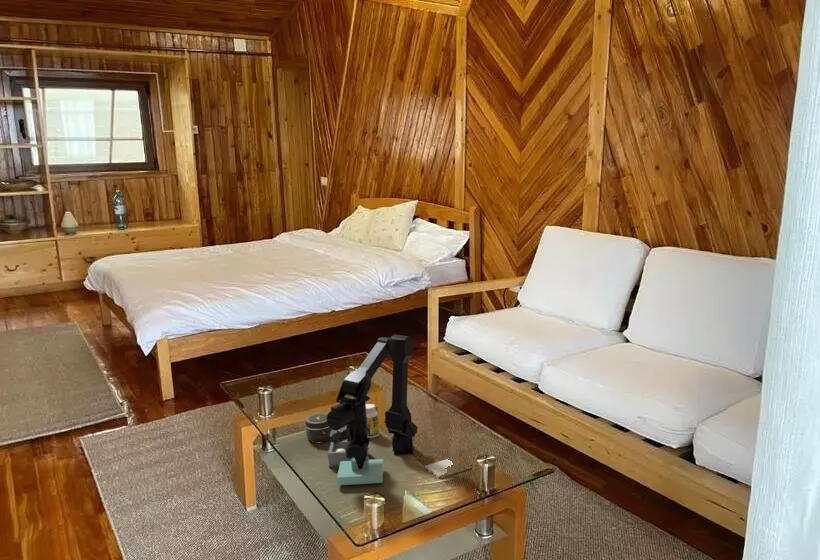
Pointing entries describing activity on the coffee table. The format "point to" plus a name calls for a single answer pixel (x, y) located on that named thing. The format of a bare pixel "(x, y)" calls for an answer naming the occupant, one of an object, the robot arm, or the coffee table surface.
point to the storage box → (338, 454)
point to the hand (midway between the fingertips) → (360, 466)
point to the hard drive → (439, 467)
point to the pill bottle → (372, 420)
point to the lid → (360, 472)
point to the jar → (317, 428)
